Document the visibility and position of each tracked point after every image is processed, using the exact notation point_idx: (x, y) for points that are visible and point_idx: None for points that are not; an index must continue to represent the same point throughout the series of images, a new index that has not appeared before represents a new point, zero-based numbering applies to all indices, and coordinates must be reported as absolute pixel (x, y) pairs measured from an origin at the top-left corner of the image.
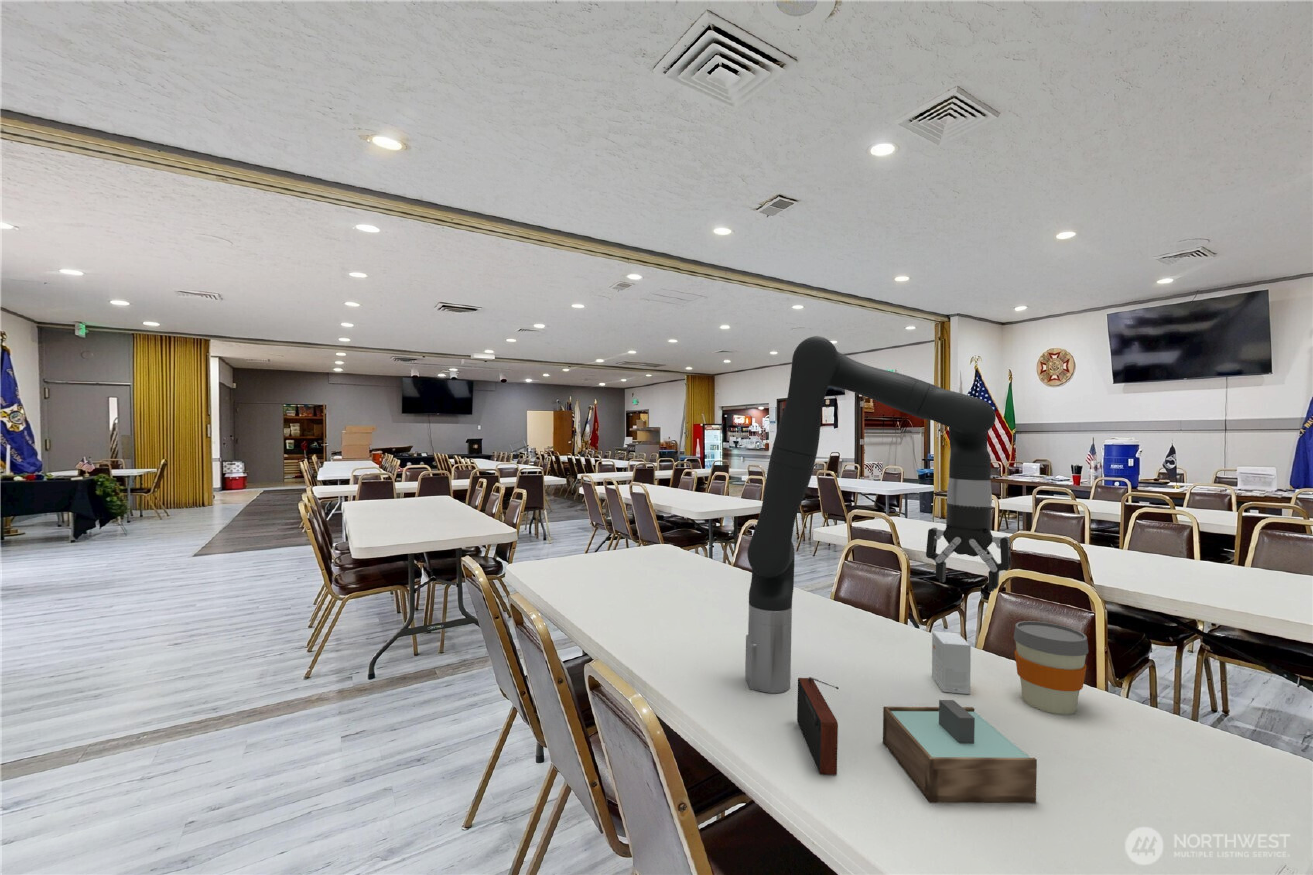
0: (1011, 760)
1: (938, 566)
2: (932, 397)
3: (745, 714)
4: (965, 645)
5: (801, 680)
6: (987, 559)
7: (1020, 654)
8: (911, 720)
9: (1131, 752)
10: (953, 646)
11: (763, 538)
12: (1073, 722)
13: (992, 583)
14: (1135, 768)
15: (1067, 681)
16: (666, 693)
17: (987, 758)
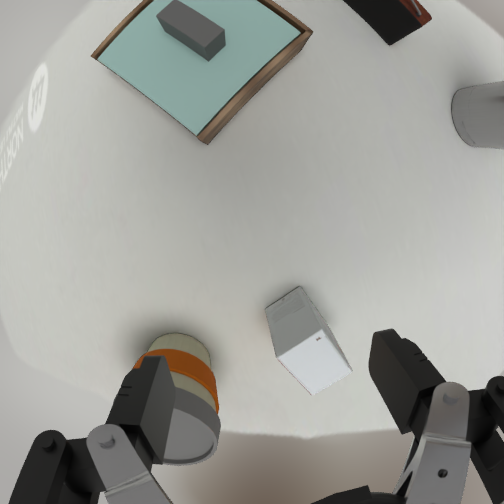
0: (115, 28)
1: (430, 378)
2: None
3: (439, 25)
4: (284, 352)
5: (423, 9)
6: (121, 486)
7: (200, 386)
8: (262, 25)
9: (76, 291)
10: (303, 337)
11: None
12: (139, 325)
13: (136, 379)
14: (62, 252)
15: (136, 364)
16: (497, 34)
17: (139, 5)
